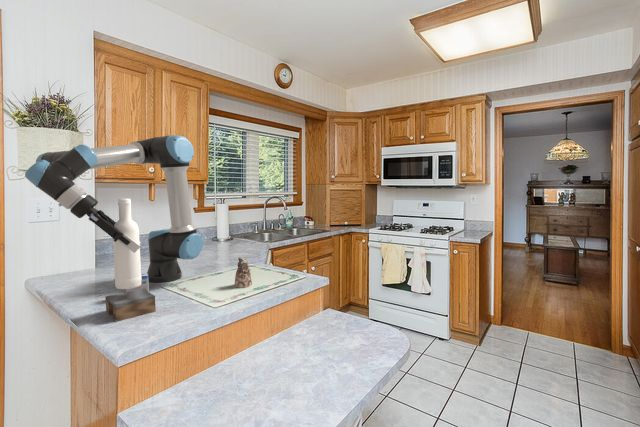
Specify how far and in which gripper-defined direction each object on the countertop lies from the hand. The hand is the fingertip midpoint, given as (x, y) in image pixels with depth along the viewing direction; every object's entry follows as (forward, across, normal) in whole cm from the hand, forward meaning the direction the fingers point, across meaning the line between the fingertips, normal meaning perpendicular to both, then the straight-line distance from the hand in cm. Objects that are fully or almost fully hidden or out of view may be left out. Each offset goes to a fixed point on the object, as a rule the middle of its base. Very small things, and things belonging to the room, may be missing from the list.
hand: (138, 247), depth 117 cm
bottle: (+7, 0, -12) cm, 14 cm away
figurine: (+43, -13, +12) cm, 47 cm away
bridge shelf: (+13, 0, -18) cm, 22 cm away
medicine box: (+15, -17, -17) cm, 28 cm away
